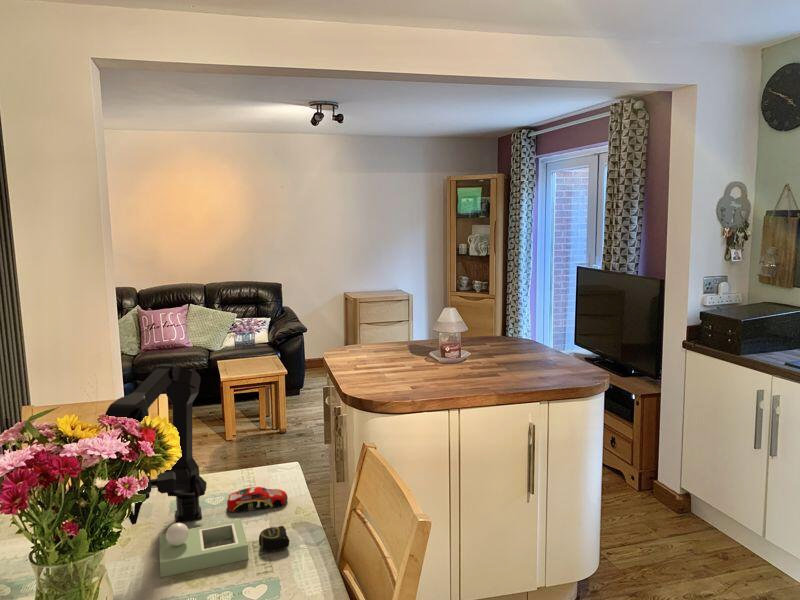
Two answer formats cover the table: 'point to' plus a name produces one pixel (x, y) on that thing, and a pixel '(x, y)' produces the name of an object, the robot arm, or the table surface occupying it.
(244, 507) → the race car
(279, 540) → the tape measure
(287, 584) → the table surface
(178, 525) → the ball
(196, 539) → the green
